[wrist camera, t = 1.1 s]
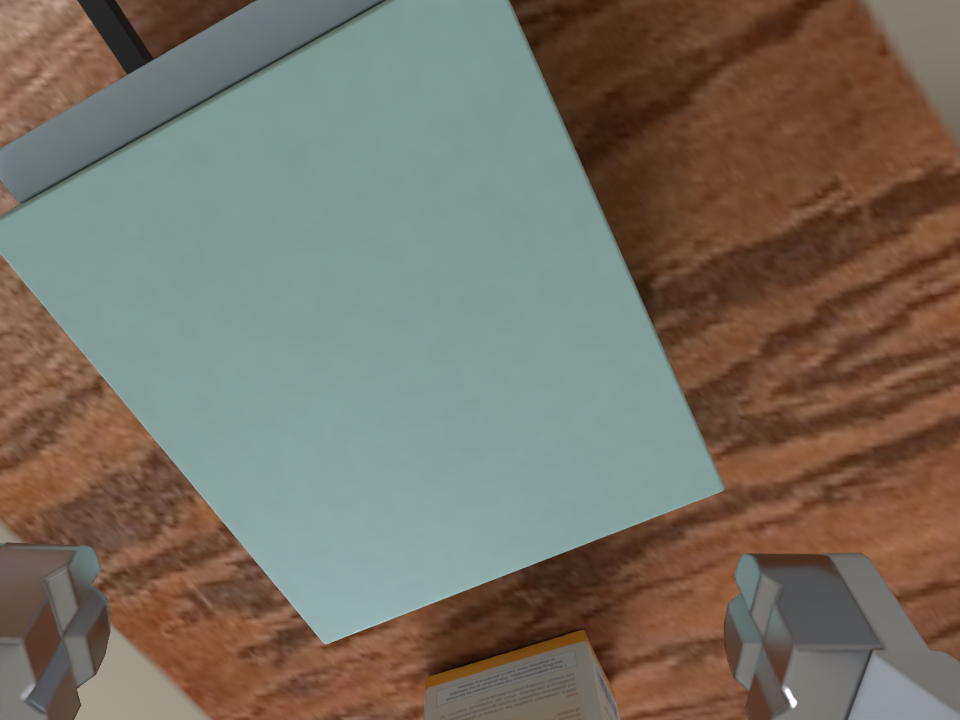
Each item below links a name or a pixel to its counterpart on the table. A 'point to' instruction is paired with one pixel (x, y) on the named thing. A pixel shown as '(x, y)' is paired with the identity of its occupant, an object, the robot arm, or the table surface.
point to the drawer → (162, 83)
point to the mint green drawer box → (375, 316)
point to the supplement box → (526, 685)
